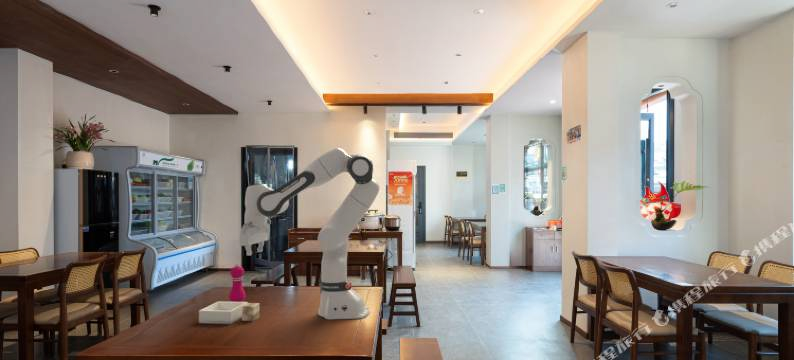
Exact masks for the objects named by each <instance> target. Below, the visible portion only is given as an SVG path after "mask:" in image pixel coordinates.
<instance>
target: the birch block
mask: <svg viewBox="0 0 794 360" xmlns="http://www.w3.org/2000/svg"><path fill="white" fill-rule="evenodd" d="M259 318H260V303H259V302H258V303H257V302H248V303H247V304H246V305H244V306H242V321H243V322H245V321H246V322H255V321H256V320H259Z"/></svg>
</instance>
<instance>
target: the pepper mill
mask: <svg viewBox="0 0 794 360" xmlns="http://www.w3.org/2000/svg"><path fill="white" fill-rule="evenodd" d="M229 271H230V276H231V281H232V287H231V290H230V292H229V294H228V300H230V301H229V302H245V301H244V299H246V292H245V289H244V287H243V280H244V279H243V277H244V276H243V275H244V273H245V269H244V267H242V266H240V263H239V262H237V263H235V264H234V266H233V267H232V268H231V269H230V270H229Z"/></svg>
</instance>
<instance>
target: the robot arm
mask: <svg viewBox="0 0 794 360" xmlns="http://www.w3.org/2000/svg"><path fill="white" fill-rule="evenodd" d="M343 173H348V174H349V175H350V177H351V178H352V179H353V180H354V182H355V183H354V185H353V187H352V189H351V190H350V192H348V194H347V196H346V197H345V199H344V200H343V201H342V203H341V204H340V205H339V207H338V208H337V210H336V211H334V213H333V214H332V215H331V216H330V218H329V219H328V220H327V222H326V223H325V224H324V225H323V226H322V228H321V229H320V231H319V233H318V235H317V243H318V246H320V248H322V249H323V251H322V259H321V262H320V263H321V267H320V268H321V271H320V273H321V275H320V276H321V280H320V285H319V289H320V300H319V301H320V303H319V307H318V312H317V315H318V316H319V317H322V318H324V319H326V320H349V319H351V320H352V319H363V318H365V317H367V316H368V315H369V314H370V312H371V310H370V307H368V306H366V305H365V301H364V297H363V296H362V295H361V294H359V293H358V292H357V291H355V290H354V289H353V288H352V282H353V281H352V280H349V279H348V276H347V275H348V250H349V236H350V235H351V233H352V232H353V231H354V230H355V228H356V227H357V226H358V224H360V222H361V221H362V219H363V218H364V217H365V216H366V213H367V212H368V211H369V209H370V208H371V206H373V203H374V202H375V200H376V198H377V197H378V194H379V191H380V185H379V183H378V182H377V181H376V180H375V179H374V178H373V173H374V163H373V161H372V159H371V158H370V157H369V156H368V155H366V154H364V153H357V154H352V155H351V154H350V155H349V154H348V153H347V152H346V151H345V150H344V149H343V148H340V147H335V148H333V149H331V150H328V151H327V152H324V153H323V154H321V155H320V156H318V157H317V158H316V159H314V160H313V161H312V162H311V163H309V164H308V165H307V166H306V167H305V168H304V169H303V170H301V172H299V173H298V174H297V175H296V176H295V177H293V178H292V179H290V180H288V181H286V182H285V183H284V184H282V185H281V186H279V187H278V188H276V189H273V188H271V187H269V186H267V185H266V184H265V183H256V184H251V185H249V186H247V187H246V189H245V197H244V206H245V210H244V211H245V212H244V224H243V225H242V227H241V228H240V232H239V233H240V234H239V240H238V241H239V245H240V246H242V247H243V246H244V248H245V251H246V253H245V254H246V256H252V255H253V250H252V245H254V244H258V247H257V249H256V250H257V253H262V252H263V249H264V248H263V247H264V245H265V241H268V240H269V239H270V233H271V232H270V231H271V226H270V225H271V223H272V220H271V219H270V217H272V216H275V215H278V214H282V213H284V212H285V211H287V210H288V208H289V206H290V200H291V199H292V198H294V197H295V196H297V195H298V194H300V193H301V192H303V191H305V190H308V189H311V188H316V187H320V186H322V185H324V184H326V183H328V182H330V181H332V180H333V179H334V178H336V177H337V176H338V175H340V174H343Z"/></svg>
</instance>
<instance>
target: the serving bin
mask: <svg viewBox="0 0 794 360" xmlns="http://www.w3.org/2000/svg"><path fill="white" fill-rule="evenodd" d="M247 303H249V302H248V301H244V302H231V301H218V300H217V301H215V302H214V303H212V304H210V305H208V306H206V307H204V308H201V309H200V310H198V323H199V324H217V325H218V324H220V325H223V324H224V325H231V324H233V323H235V322H236V321H238V320H240V319H241V318H242V306H244V305H246V304H247Z"/></svg>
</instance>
